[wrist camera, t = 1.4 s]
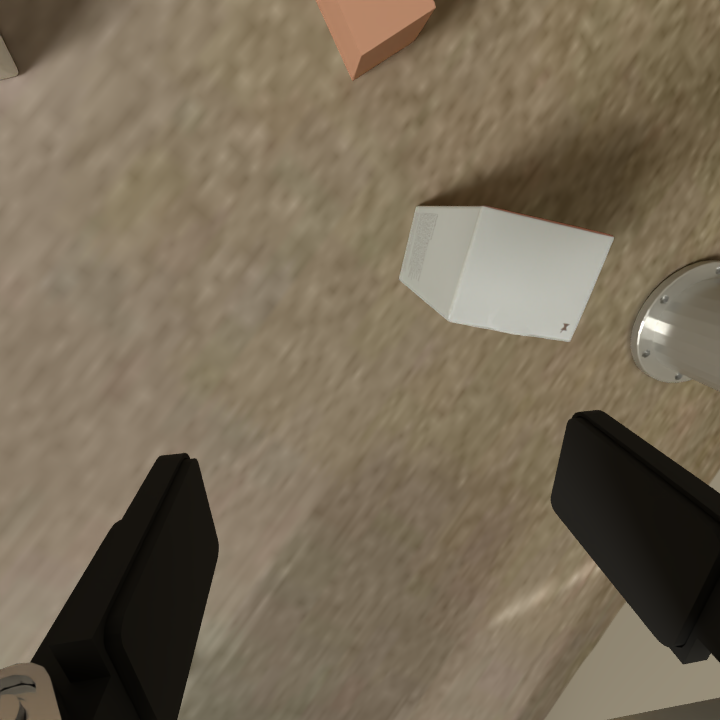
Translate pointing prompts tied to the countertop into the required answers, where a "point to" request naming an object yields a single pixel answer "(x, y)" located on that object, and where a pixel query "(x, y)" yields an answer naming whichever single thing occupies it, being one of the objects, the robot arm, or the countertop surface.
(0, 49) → the medicine bottle
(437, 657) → the countertop surface
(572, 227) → the small box
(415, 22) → the terracotta block
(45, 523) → the countertop surface
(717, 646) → the robot arm
